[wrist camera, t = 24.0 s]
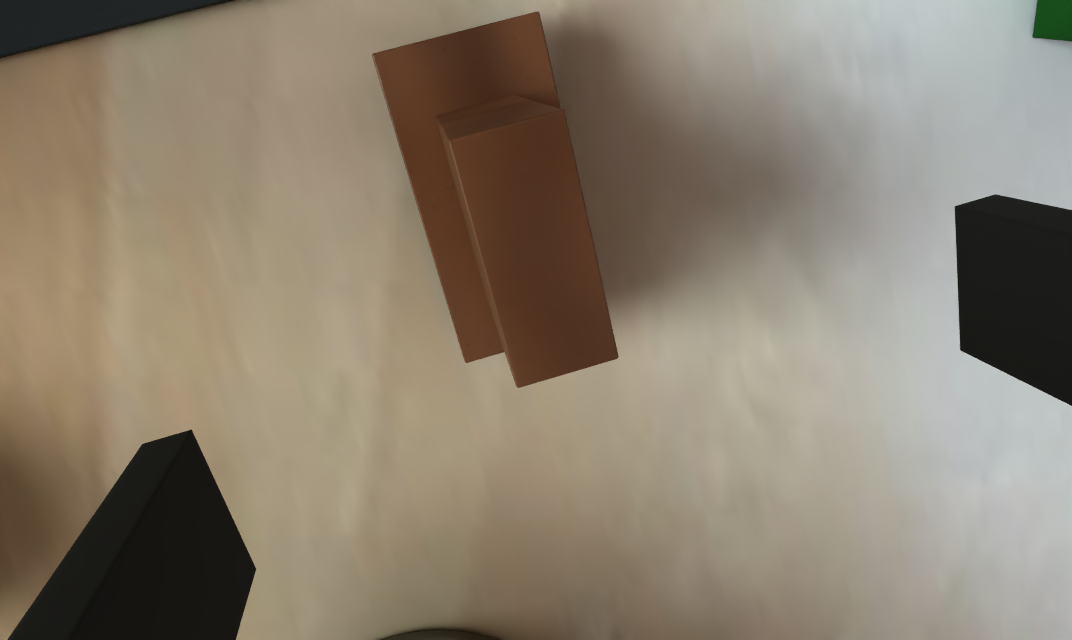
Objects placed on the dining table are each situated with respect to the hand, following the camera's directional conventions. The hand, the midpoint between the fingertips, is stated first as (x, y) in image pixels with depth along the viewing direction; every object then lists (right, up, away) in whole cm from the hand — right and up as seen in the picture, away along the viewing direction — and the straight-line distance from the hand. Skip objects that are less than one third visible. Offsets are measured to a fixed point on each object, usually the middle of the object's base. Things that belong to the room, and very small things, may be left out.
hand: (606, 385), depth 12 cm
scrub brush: (-3, +7, +18) cm, 20 cm away
